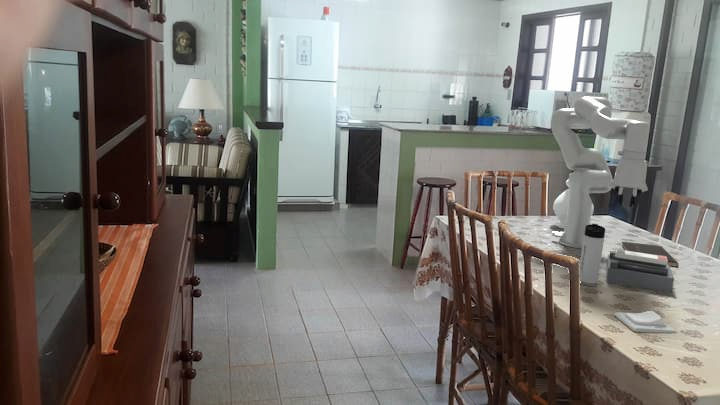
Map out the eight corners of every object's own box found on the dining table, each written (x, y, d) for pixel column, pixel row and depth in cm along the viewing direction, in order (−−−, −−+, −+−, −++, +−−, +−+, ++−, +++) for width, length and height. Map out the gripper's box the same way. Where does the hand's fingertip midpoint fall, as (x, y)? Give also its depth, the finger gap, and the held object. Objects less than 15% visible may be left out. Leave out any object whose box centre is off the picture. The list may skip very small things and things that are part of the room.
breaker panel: (606, 281, 196) (609, 262, 195) (605, 268, 211) (608, 250, 209) (671, 292, 189) (675, 272, 187) (666, 278, 203) (669, 259, 202)
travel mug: (596, 281, 196) (605, 224, 191) (597, 287, 190) (606, 229, 185) (577, 278, 198) (585, 222, 193) (577, 284, 192) (586, 226, 187)
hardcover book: (632, 262, 221) (633, 257, 221) (620, 246, 243) (621, 241, 242) (677, 268, 218) (679, 262, 217) (661, 251, 239) (662, 246, 239)
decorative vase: (547, 220, 279) (554, 170, 274) (585, 224, 277) (593, 173, 271) (554, 230, 262) (561, 176, 256) (595, 233, 260) (603, 179, 254)
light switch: (680, 323, 157) (636, 319, 156) (676, 337, 158) (633, 333, 157) (657, 307, 168) (616, 304, 166) (654, 320, 169) (613, 317, 167)
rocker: (615, 257, 199) (616, 252, 198) (615, 253, 203) (615, 248, 203) (666, 265, 193) (667, 259, 192) (665, 261, 197) (666, 256, 197)
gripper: (609, 154, 205) (601, 204, 209) (659, 159, 199) (650, 210, 203) (608, 152, 212) (601, 200, 216) (657, 157, 206) (649, 206, 210)
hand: (625, 205), depth 210 cm, fingers open, 2 cm apart
